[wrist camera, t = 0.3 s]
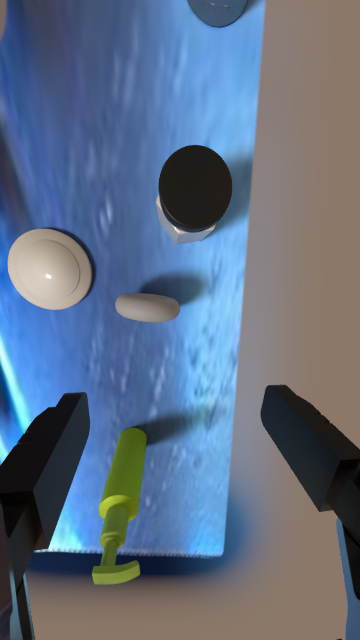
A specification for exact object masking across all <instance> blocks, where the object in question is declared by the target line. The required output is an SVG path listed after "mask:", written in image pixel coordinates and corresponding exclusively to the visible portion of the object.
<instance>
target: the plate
mask: <svg viewBox="0 0 360 640" xmlns="http://www.w3.org/2000/svg"><path fill="white" fill-rule="evenodd" d="M8 271H9V275H10V278H11V280H12V282H13V284H14V286H15V288H16V289H17V290H18V292H19V293H20V294H21V295H22V296H23V297H24V298H25V299H27V300H28V301H29V302H31V303H33V304H34V305H37V306H39V307H42V308H45V309H52V310H59V309H65V308H68V307H71V306H73V305H75V304H77V303H78V302H80V301H81V300H82V299H83V298H84V297H85V296H86V294H87V293H88V291H89V289H90V286H91V283H92V267H91V263H90V260H89V258H88V256H87V254H86V252H85V251H84V250H83V248H82V247H81V246H80V245H79V244H78V243H77V242H76V241H75V240H74V239H72V238H71V237H69V236H67V235H65V234H63V233H61V232H58V231H55V230H51V229H35V230H31V231H29V232H26V233H25V234H23V235H22V236H20V237H19V238H18V239H17V240H16V241H15V242H14V244H13V245H12V247H11V249H10V252H9V256H8Z"/></svg>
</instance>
